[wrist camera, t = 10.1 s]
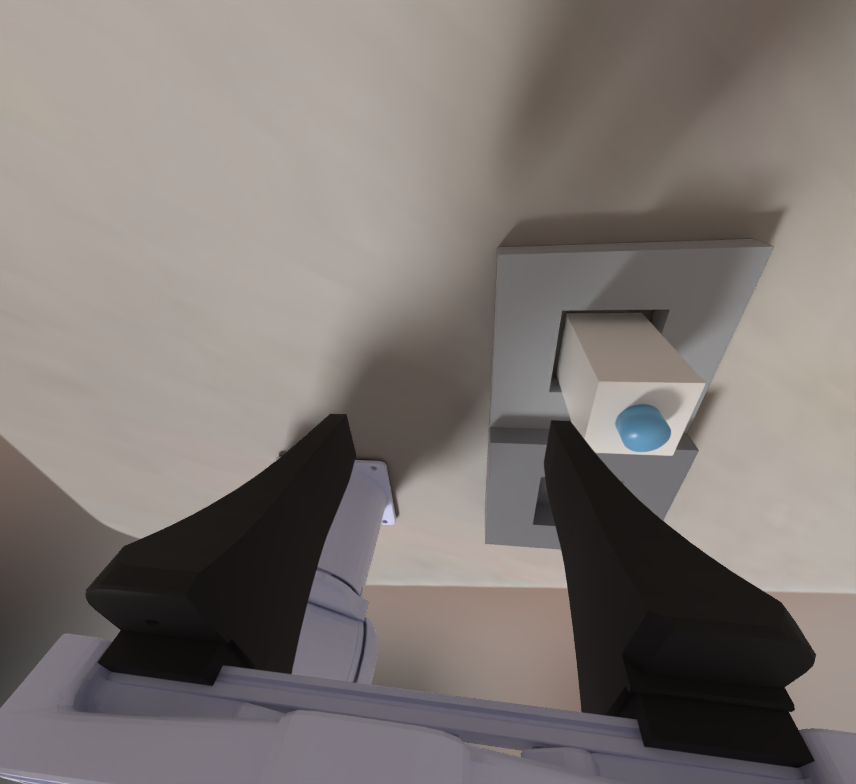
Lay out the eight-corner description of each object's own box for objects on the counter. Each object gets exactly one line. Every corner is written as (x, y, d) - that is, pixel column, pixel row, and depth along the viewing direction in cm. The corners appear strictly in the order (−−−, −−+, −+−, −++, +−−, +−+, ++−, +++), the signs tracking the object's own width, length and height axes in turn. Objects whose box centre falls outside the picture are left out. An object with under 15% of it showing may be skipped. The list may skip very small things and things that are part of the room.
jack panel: (484, 512, 31) (485, 543, 29) (497, 247, 19) (500, 263, 16) (631, 521, 30) (645, 555, 27) (753, 238, 17) (798, 255, 15)
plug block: (556, 373, 23) (585, 467, 16) (566, 313, 20) (605, 395, 14) (623, 374, 22) (682, 472, 16) (641, 312, 20) (719, 397, 13)
